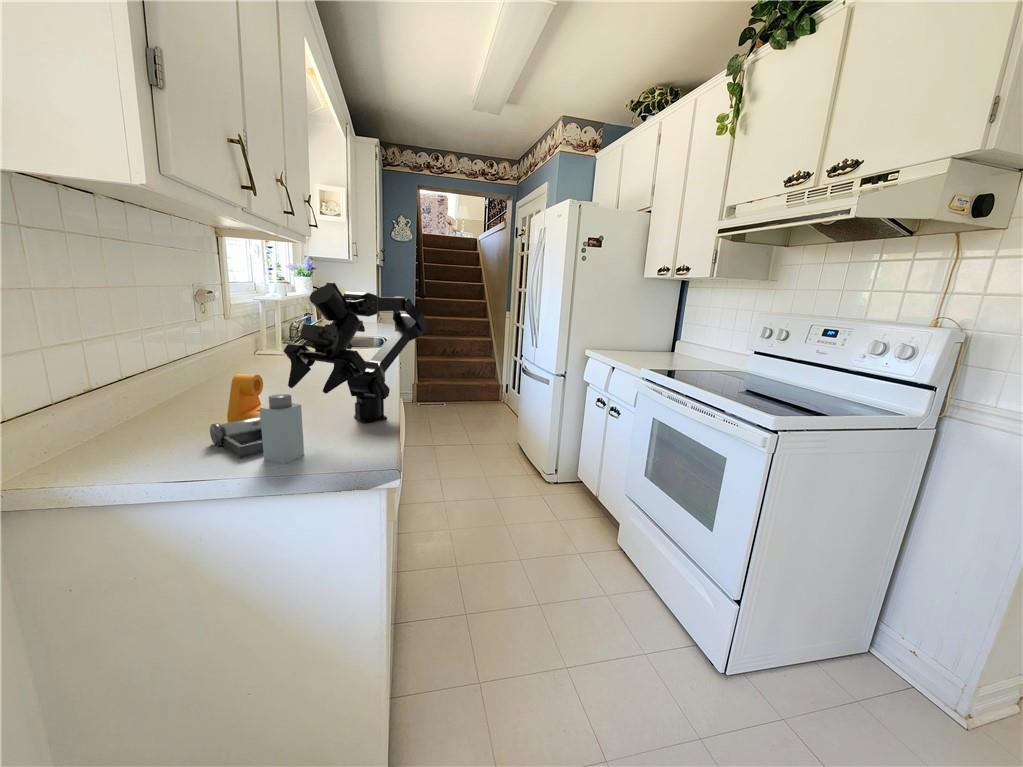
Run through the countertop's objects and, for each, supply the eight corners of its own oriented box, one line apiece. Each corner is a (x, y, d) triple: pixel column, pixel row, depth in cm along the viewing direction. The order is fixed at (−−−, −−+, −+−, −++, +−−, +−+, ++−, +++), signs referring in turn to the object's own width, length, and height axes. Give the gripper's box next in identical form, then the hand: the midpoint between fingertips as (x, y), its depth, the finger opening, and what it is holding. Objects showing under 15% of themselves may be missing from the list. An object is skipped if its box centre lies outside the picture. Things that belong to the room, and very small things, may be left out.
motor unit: (273, 428, 102) (271, 409, 101) (300, 443, 95) (299, 422, 94) (211, 442, 92) (208, 421, 91) (236, 459, 84) (234, 437, 83)
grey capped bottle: (284, 450, 90) (280, 392, 87) (304, 454, 89) (300, 395, 86) (263, 459, 85) (258, 397, 82) (284, 463, 84) (279, 401, 81)
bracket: (258, 428, 102) (254, 380, 100) (228, 426, 102) (223, 378, 100) (281, 414, 113) (277, 371, 110) (253, 413, 113) (249, 369, 110)
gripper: (287, 307, 95) (247, 363, 87) (357, 313, 89) (321, 373, 81) (315, 338, 104) (281, 391, 96) (379, 346, 98) (350, 402, 90)
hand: (306, 389), depth 91 cm, fingers open, 9 cm apart
